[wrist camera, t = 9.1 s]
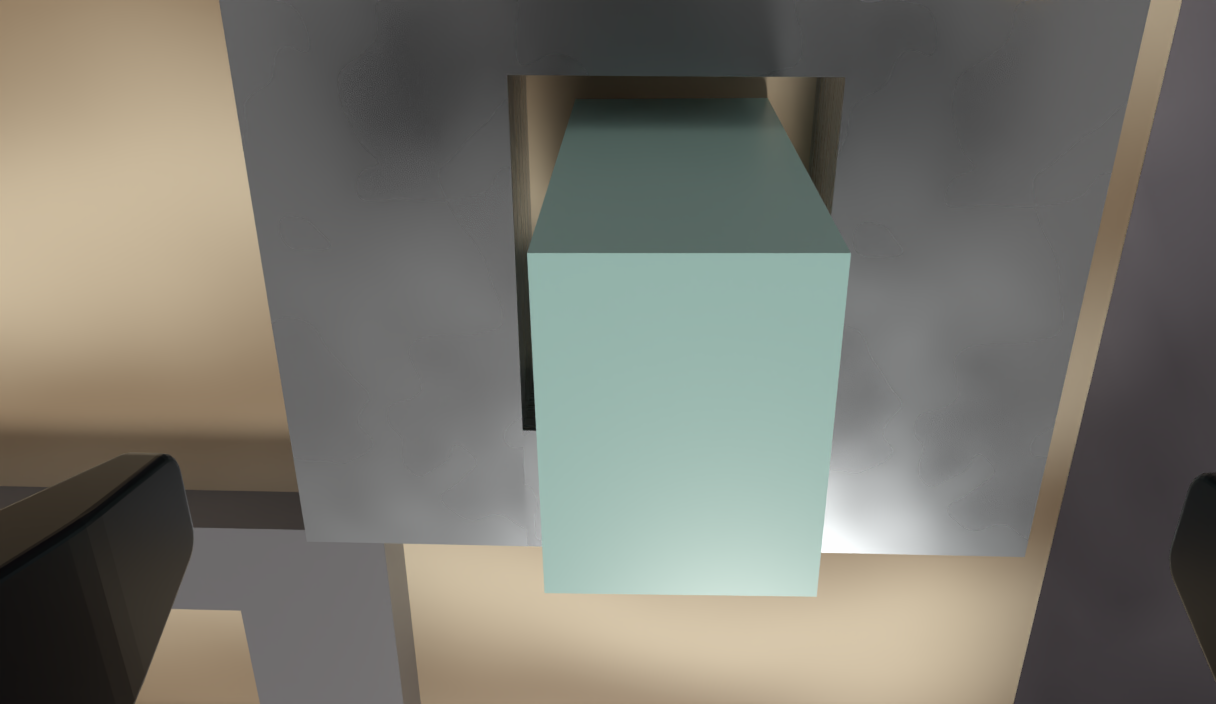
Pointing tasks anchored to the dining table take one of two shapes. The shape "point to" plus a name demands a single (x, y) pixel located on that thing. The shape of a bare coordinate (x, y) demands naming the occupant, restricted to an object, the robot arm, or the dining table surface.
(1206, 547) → the robot arm
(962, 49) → the port block
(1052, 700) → the dining table surface
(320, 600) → the gray square frame
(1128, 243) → the dining table surface
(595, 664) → the patch board
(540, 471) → the plug
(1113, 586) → the dining table surface
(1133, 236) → the dining table surface
